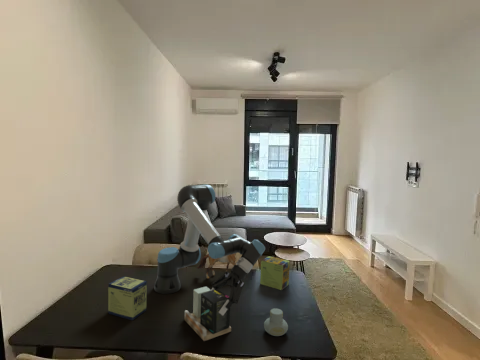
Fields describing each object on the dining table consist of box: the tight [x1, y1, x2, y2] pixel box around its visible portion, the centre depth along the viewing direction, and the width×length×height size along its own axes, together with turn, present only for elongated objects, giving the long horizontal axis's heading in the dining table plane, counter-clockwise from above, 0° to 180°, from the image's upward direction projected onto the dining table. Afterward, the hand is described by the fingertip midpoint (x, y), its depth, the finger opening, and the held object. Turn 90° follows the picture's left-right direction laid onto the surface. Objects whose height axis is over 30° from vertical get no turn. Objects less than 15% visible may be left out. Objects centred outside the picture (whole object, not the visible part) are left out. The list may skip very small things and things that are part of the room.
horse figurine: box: [196, 253, 242, 279], centre depth 199 cm, size 31×8×21 cm, turn 102°
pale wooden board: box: [184, 309, 232, 342], centre depth 142 cm, size 20×14×4 cm
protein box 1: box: [107, 276, 148, 321], centre depth 151 cm, size 10×16×16 cm
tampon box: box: [200, 289, 231, 334], centre depth 137 cm, size 11×9×15 cm
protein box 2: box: [259, 256, 291, 291], centre depth 189 cm, size 10×15×16 cm
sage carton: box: [192, 286, 211, 318], centre depth 148 cm, size 5×7×12 cm
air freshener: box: [263, 307, 289, 337], centre depth 138 cm, size 11×8×10 cm
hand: (213, 307), depth 136 cm, fingers open, 13 cm apart
